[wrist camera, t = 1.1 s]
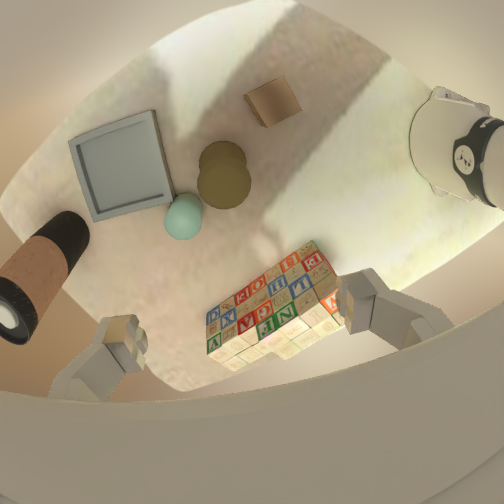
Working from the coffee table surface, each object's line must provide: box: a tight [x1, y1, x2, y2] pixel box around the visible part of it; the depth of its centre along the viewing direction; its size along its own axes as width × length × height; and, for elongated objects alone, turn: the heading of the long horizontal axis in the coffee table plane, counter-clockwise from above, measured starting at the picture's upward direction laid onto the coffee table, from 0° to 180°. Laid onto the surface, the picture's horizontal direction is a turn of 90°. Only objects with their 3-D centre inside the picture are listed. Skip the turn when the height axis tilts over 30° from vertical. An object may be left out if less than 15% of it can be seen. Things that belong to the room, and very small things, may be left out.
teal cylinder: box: [164, 193, 203, 240], centre depth 35 cm, size 4×4×5 cm
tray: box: [68, 110, 175, 223], centre depth 32 cm, size 12×12×2 cm
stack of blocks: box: [206, 240, 345, 372], centre depth 40 cm, size 21×6×12 cm, turn 128°
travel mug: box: [0, 211, 89, 345], centre depth 28 cm, size 8×8×20 cm
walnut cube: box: [244, 76, 302, 128], centre depth 29 cm, size 4×4×4 cm
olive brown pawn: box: [197, 141, 251, 209], centre depth 30 cm, size 6×6×11 cm
